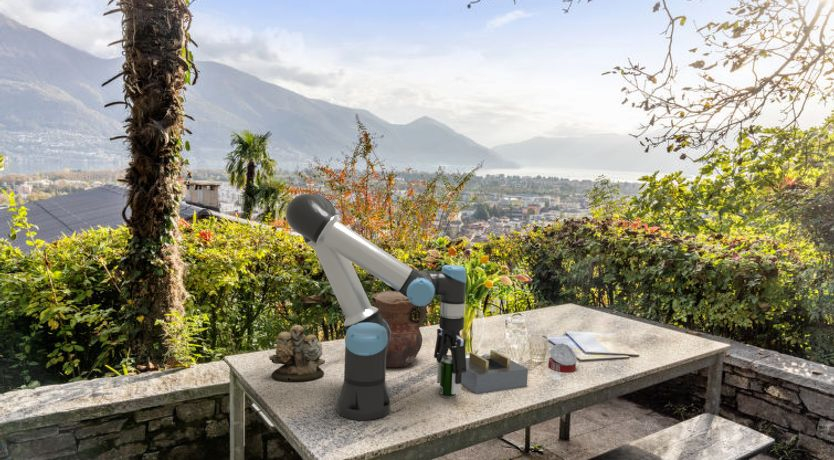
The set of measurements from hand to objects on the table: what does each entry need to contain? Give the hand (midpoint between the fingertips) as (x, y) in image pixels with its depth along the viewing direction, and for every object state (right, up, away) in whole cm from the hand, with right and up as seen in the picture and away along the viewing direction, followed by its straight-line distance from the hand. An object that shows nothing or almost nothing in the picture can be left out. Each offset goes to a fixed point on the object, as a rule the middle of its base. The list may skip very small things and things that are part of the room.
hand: (448, 387), depth 153 cm
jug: (-19, 0, +30) cm, 35 cm away
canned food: (+45, -3, +32) cm, 55 cm away
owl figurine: (-50, 0, +11) cm, 51 cm away
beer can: (0, -3, 0) cm, 3 cm away
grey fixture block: (+15, -2, +15) cm, 22 cm away
